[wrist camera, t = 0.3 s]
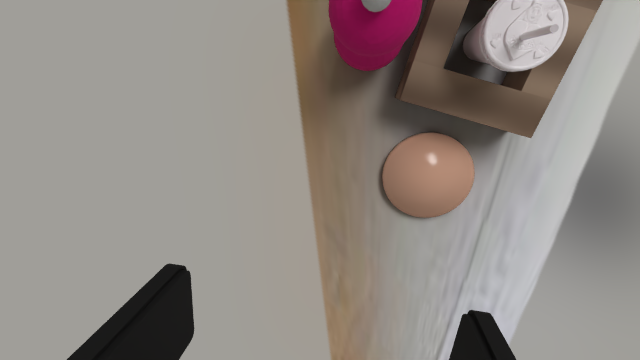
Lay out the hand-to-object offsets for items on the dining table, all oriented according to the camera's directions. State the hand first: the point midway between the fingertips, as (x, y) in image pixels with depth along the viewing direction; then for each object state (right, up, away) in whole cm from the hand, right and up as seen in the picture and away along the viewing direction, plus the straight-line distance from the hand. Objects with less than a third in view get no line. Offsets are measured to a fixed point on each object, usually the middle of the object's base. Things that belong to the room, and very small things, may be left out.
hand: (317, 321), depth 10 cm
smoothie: (+18, +20, +23) cm, 36 cm away
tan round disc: (+14, +5, +29) cm, 32 cm away
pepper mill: (+6, +21, +25) cm, 33 cm away
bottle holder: (+18, +20, +23) cm, 35 cm away
